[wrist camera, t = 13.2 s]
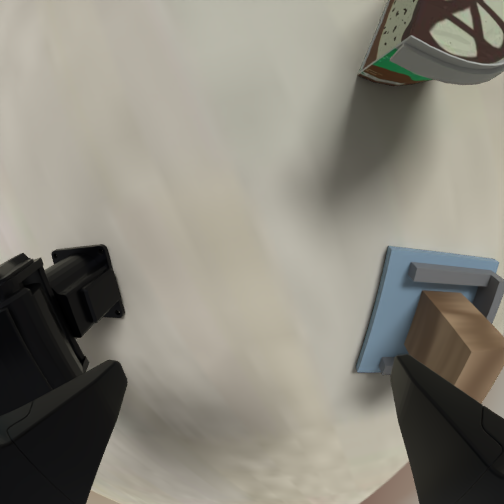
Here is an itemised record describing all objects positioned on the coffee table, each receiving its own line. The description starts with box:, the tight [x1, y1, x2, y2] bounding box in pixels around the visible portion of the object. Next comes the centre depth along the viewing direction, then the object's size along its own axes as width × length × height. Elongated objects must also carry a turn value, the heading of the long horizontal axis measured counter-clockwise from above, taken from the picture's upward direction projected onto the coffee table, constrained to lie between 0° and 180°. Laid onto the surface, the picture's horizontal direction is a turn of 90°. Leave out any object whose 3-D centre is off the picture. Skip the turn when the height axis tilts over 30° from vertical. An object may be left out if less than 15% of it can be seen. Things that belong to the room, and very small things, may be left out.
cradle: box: [356, 246, 504, 375], centre depth 20 cm, size 11×11×3 cm
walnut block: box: [404, 290, 504, 403], centre depth 17 cm, size 4×5×8 cm
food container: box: [358, 0, 504, 86], centre depth 10 cm, size 12×6×10 cm, turn 158°
